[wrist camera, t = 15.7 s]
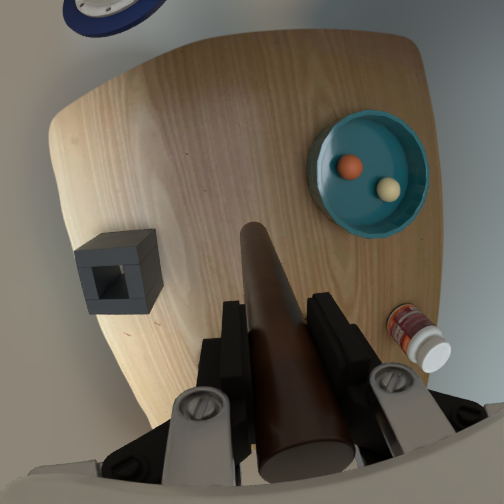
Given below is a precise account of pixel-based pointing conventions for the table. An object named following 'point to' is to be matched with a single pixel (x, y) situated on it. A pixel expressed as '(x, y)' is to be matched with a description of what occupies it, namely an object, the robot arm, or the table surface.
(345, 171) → the bead
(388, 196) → the bead
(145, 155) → the table surface
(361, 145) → the bowl
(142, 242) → the holder
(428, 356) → the pill bottle
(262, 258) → the stick
